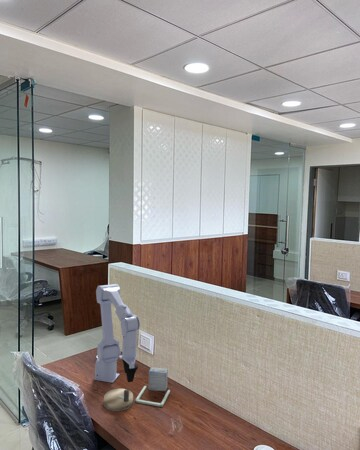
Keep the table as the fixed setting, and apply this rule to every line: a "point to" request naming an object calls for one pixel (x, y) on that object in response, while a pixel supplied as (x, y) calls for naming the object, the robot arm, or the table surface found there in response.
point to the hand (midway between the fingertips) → (128, 376)
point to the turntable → (118, 399)
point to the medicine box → (158, 379)
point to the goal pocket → (149, 401)
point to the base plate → (119, 409)
